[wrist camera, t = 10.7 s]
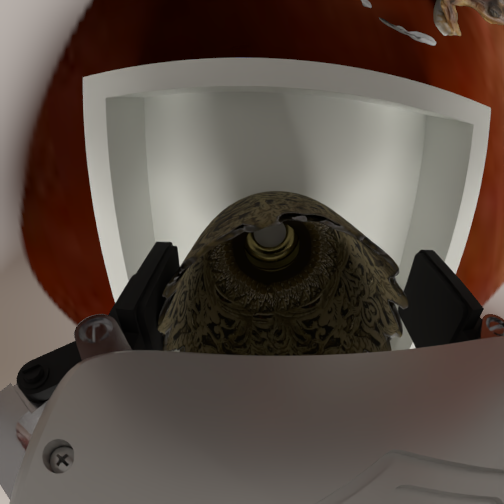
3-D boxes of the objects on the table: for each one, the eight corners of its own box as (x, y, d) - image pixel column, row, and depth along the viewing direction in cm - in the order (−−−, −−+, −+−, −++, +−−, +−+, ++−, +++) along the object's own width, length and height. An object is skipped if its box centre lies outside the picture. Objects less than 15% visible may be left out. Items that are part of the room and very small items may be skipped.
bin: (133, 81, 12) (83, 77, 8) (433, 100, 12) (490, 107, 8) (161, 328, 20) (142, 383, 16) (382, 331, 20) (404, 382, 15)
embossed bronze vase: (196, 286, 17) (169, 406, 10) (198, 154, 13) (144, 213, 6) (324, 295, 17) (362, 409, 10) (352, 171, 14) (444, 242, 7)
